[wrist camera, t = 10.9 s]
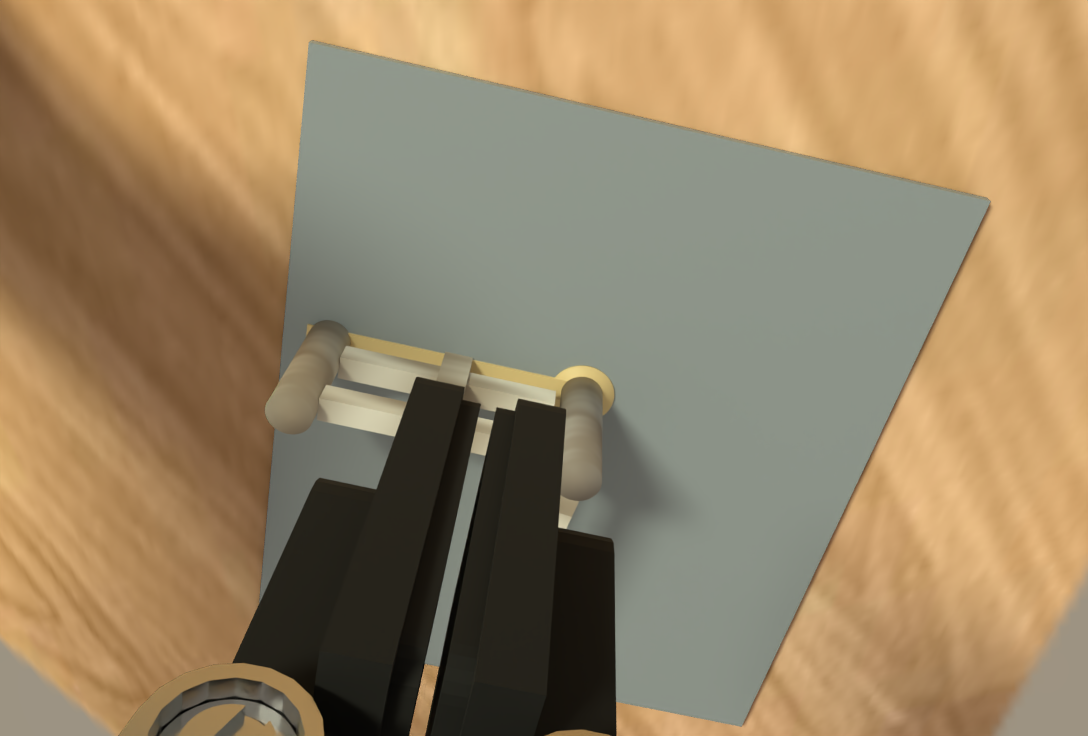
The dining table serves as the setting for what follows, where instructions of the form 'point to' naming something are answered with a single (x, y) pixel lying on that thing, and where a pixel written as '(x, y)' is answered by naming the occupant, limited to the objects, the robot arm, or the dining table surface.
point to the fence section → (331, 351)
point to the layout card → (621, 333)
